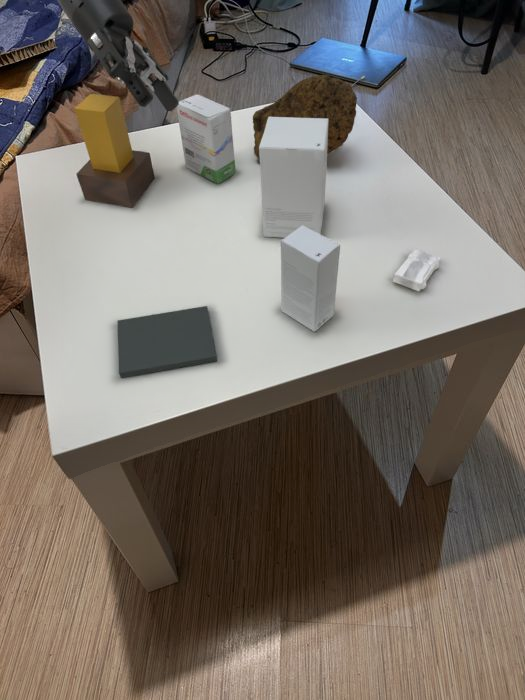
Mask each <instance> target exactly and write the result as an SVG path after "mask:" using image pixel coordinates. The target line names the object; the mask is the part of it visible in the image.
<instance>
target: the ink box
mask: <svg viewBox="0 0 525 700" xmlns="http://www.w3.org/2000/svg"><path fill="white" fill-rule="evenodd" d="M178 101H179V100H178ZM175 109H176V113H177V120H178V126H179V132H180V139H181V145H182V151H183V152H182V153H183V157H184V164H185V168H186V169H189V170H190V171H192V172H194V173H195V174H198V175H199V176H201V177H203V178H205V179H206V180H209V181H211V182H212V183H214V184H218V185H220V183H222V182H224V181H225V180H227V179H229V178H230V177H231V176H233V175H235V174H236V173H237V170H236V169H237V168H236V160H235V148H234V137H233V126H232V125H233V124H232V113H231V108H230V107H227V106H225V105H223V104H220V103H218V102H216V101H213V100H212V99H210V98H206V97H205V96H203V95H201V94H198V93H197V94H193V95H191V96H189V97H186V98H184V99H182V100H180V101H179V104H178V106H177V107H176V108H175Z"/></svg>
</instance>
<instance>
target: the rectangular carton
mask: <svg viewBox="0 0 525 700" xmlns="http://www.w3.org/2000/svg"><path fill="white" fill-rule="evenodd" d="M327 146H328V119H324V118H292V117H268V120H267V124H266V127H265V131H264V134H263V137H262V140H261V143H260V146H259V156H260V159H259V169H260V170H259V173H260V191H261V210H262V211H261V213H262V229H263V230H262V232H263V233H262V234H263V237H265V238H266V237H267V238H281V239H284V238H285V237H287V236H288V235H290V234H291V233H292V232H294V231H295V230H297V229H298V228H299V227H301V226H302V225H303V226H305V227H307V228H309V229H311V230H313V231H315V232H317V233H319V234H321V235H322V227H323V221H324V220H323V219H324V212H325V200H326V199H325V198H326V184H327V183H326V181H327V163H328V155H327Z"/></svg>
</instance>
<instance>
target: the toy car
mask: <svg viewBox="0 0 525 700" xmlns="http://www.w3.org/2000/svg"><path fill="white" fill-rule="evenodd" d="M441 259H442V258H441V256H440V257H439V256H437V255H434V254H431V253H428V252H426V251H423V250H420V249H417V248H415V249H414V250H413V251H412V252H410V253H409V254H408V256H407V258H406V259H405V260H404V262H403V263H402V264H401V265H400V267H399V268H398V270H397V271H395V272H394V273H393V279H392V282H394V283H396V284H399V285H401V286H404V287H406V288H409V289H411V290H414V291H417V292H420V291H421V290H424V289H425V288H426V287H427V282H428V280H429V278H430V277H431V276H432V274H433V273H434V271H435V270H437V269H438V268H439V267H440V262H441Z"/></svg>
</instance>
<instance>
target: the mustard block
mask: <svg viewBox="0 0 525 700" xmlns="http://www.w3.org/2000/svg"><path fill="white" fill-rule="evenodd" d="M74 112H75V116H76V119H77V122H78V125H79V128H80V131H81V135H82V138H83V142H84V145H85V148H86V151H87V154H88V157H89V160H90V161H91V164H92V167H93V169H98V170H104V171H111V172H118V173H120V172H121V171H122V170H123V169H124V168H125V167H126V165H127V164H128V163H129V162H130V161H131V160H132V158H133V157H134V156H133V152H132V150H133V148H132V144H131V139H130V136H129V132H128V127H127V123H126V119H125V114H124V110H123V106H122V102H121V98H120V96H116V95H115V96H114V95H107V94H106V95H105V94H96V93H89V94H88V96H86V97H85V98H84V99H83V100H81V102H80V103H78V104H76V106H75V107H74Z"/></svg>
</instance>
